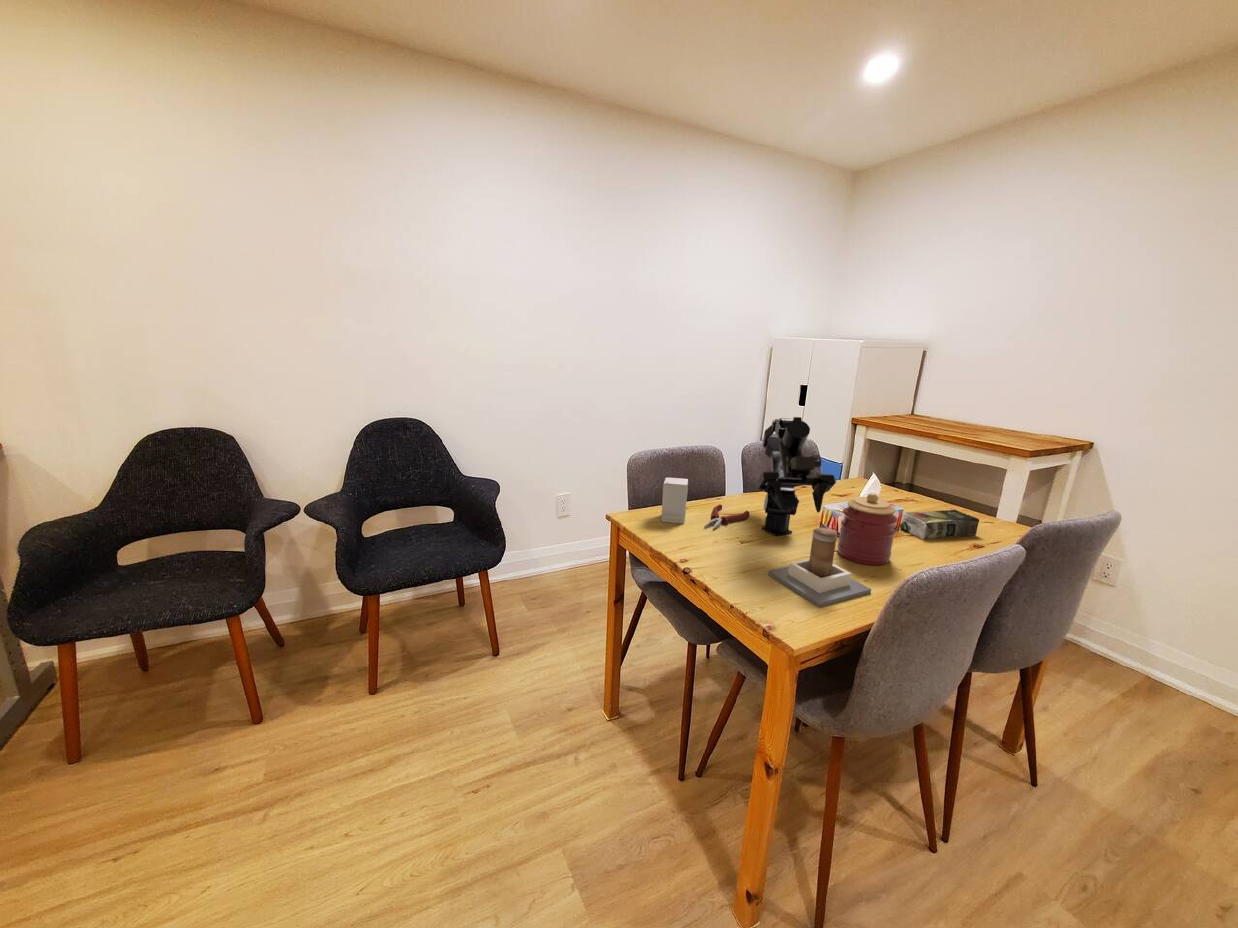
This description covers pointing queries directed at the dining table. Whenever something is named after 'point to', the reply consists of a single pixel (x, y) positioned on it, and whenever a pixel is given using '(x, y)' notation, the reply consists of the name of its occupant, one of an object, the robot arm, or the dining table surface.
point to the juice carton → (939, 524)
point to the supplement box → (674, 500)
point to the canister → (867, 530)
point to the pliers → (725, 518)
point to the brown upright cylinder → (822, 552)
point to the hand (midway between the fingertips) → (800, 511)
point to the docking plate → (819, 583)
